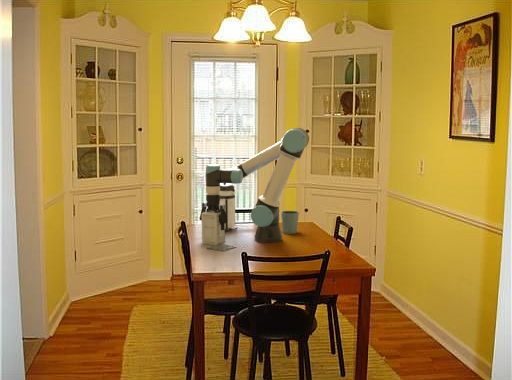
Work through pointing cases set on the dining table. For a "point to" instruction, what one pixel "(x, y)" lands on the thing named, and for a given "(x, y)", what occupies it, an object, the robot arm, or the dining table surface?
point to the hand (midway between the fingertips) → (213, 234)
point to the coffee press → (228, 203)
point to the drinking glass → (289, 221)
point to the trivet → (221, 247)
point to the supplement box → (211, 228)
